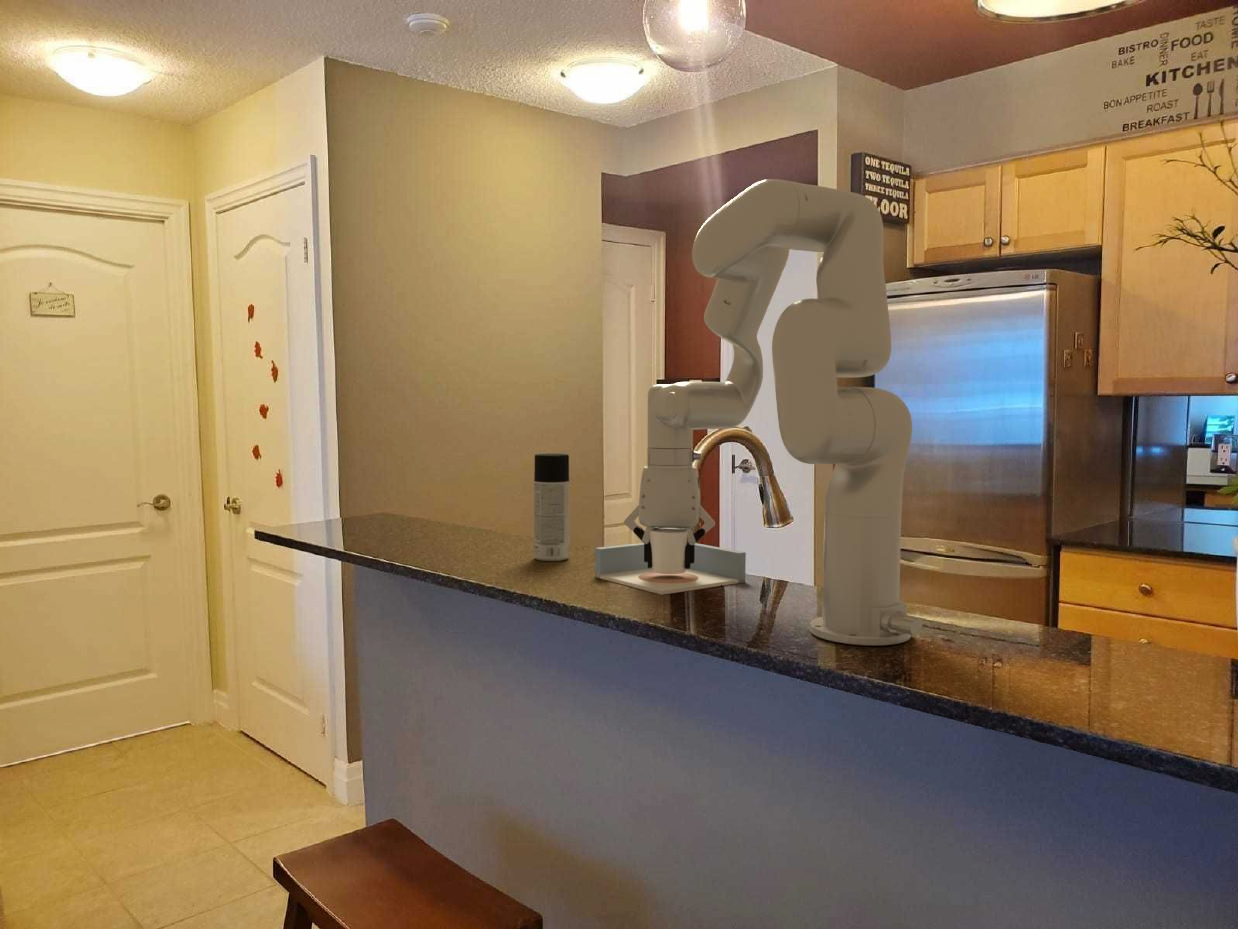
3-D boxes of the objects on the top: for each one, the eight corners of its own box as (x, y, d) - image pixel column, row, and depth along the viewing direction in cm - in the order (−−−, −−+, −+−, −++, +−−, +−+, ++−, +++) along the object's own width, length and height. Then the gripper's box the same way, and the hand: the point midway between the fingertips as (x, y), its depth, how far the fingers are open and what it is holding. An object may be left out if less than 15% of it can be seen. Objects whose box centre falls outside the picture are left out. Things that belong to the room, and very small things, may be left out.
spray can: (576, 558, 176) (576, 454, 175) (555, 563, 170) (555, 455, 169) (548, 555, 179) (548, 453, 178) (526, 559, 174) (526, 454, 172)
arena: (745, 582, 153) (745, 552, 152) (661, 594, 142) (661, 562, 142) (675, 566, 167) (675, 539, 167) (594, 577, 156) (594, 548, 156)
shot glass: (669, 566, 158) (670, 525, 157) (697, 571, 152) (698, 530, 152) (639, 570, 153) (640, 528, 153) (667, 576, 148) (668, 533, 148)
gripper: (722, 458, 154) (721, 565, 155) (621, 457, 157) (621, 562, 158) (721, 460, 147) (720, 572, 148) (615, 459, 149) (614, 569, 150)
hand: (669, 566), depth 153 cm, fingers closed on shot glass, 5 cm apart
